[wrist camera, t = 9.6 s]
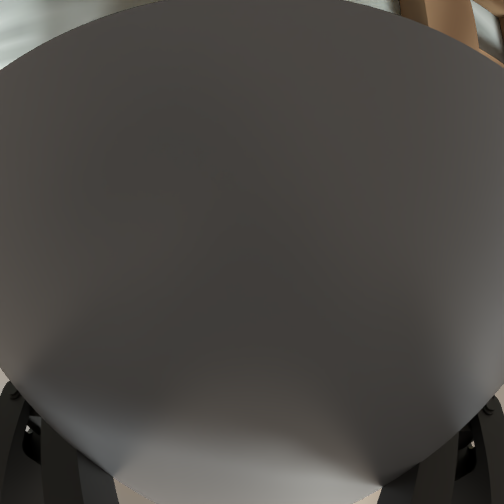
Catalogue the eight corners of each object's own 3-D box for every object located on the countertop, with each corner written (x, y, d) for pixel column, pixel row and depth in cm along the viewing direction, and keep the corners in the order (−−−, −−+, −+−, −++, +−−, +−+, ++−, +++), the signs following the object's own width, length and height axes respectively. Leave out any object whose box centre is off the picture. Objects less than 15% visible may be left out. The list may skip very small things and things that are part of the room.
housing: (192, 375, 17) (165, 508, 8) (158, 109, 10) (-78, 143, 1) (313, 379, 17) (329, 514, 8) (359, 113, 10) (593, 154, 1)
